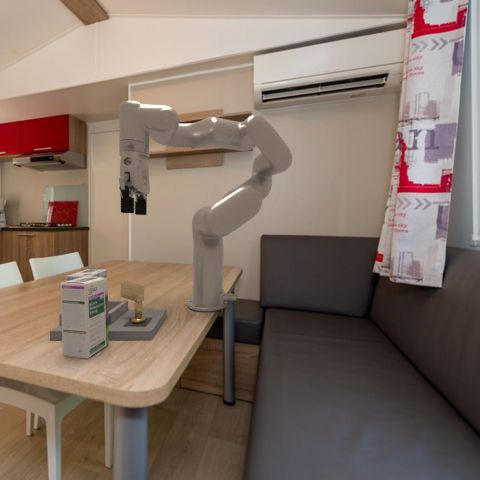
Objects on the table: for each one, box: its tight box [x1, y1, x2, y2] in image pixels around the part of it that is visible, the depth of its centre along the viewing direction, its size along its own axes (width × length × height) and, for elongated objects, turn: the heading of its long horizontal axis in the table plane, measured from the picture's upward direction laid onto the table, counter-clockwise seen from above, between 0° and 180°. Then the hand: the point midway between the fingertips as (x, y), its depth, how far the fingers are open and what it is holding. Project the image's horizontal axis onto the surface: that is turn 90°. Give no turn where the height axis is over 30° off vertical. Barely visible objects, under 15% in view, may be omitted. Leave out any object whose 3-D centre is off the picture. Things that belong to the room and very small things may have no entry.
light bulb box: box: [65, 268, 108, 282], centre depth 74 cm, size 11×7×11 cm, turn 4°
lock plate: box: [49, 299, 168, 341], centre depth 60 cm, size 22×14×4 cm, turn 93°
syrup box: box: [59, 276, 110, 360], centre depth 49 cm, size 6×6×14 cm
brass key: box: [120, 281, 146, 323], centre depth 60 cm, size 3×8×8 cm, turn 57°
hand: (134, 214), depth 68 cm, fingers open, 9 cm apart
